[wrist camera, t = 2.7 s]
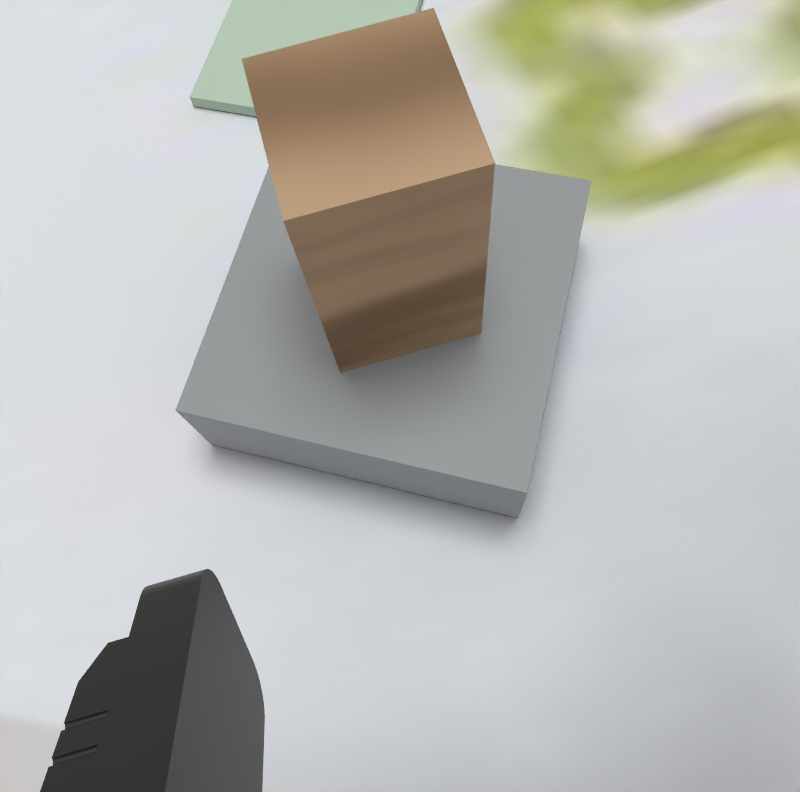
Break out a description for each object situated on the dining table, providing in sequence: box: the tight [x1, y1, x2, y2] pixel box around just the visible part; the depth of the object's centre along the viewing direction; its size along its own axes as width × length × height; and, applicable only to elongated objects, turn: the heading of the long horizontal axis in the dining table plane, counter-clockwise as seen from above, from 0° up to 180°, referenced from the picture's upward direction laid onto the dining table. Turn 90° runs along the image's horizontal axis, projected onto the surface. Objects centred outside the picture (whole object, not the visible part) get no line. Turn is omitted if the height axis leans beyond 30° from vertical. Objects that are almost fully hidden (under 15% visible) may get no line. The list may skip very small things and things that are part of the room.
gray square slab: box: [176, 164, 591, 518], centre depth 28 cm, size 12×12×4 cm
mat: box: [190, 0, 423, 116], centre depth 35 cm, size 9×9×1 cm
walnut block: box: [242, 8, 495, 373], centre depth 22 cm, size 5×5×9 cm
